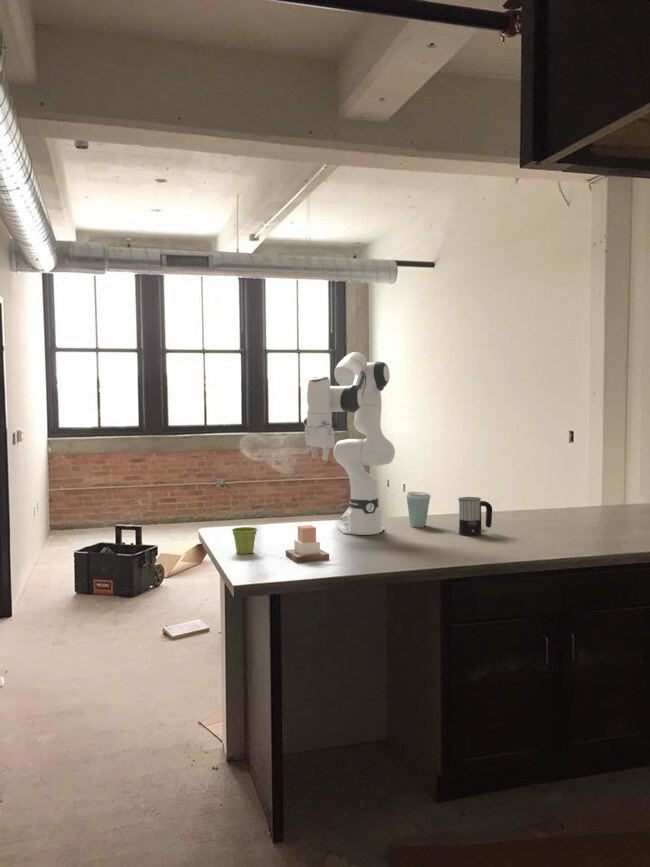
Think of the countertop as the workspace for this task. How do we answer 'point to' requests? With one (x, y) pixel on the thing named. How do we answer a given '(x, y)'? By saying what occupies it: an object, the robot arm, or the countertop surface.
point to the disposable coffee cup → (418, 508)
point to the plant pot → (244, 539)
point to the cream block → (306, 547)
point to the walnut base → (307, 556)
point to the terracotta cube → (307, 533)
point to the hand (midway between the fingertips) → (319, 459)
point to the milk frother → (472, 515)
